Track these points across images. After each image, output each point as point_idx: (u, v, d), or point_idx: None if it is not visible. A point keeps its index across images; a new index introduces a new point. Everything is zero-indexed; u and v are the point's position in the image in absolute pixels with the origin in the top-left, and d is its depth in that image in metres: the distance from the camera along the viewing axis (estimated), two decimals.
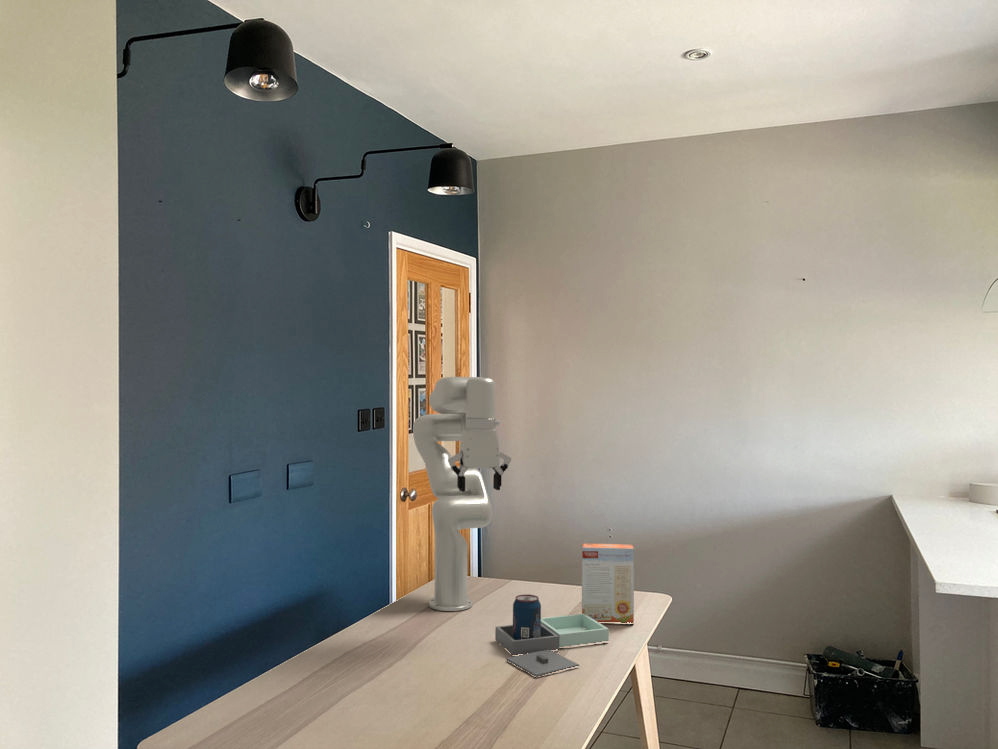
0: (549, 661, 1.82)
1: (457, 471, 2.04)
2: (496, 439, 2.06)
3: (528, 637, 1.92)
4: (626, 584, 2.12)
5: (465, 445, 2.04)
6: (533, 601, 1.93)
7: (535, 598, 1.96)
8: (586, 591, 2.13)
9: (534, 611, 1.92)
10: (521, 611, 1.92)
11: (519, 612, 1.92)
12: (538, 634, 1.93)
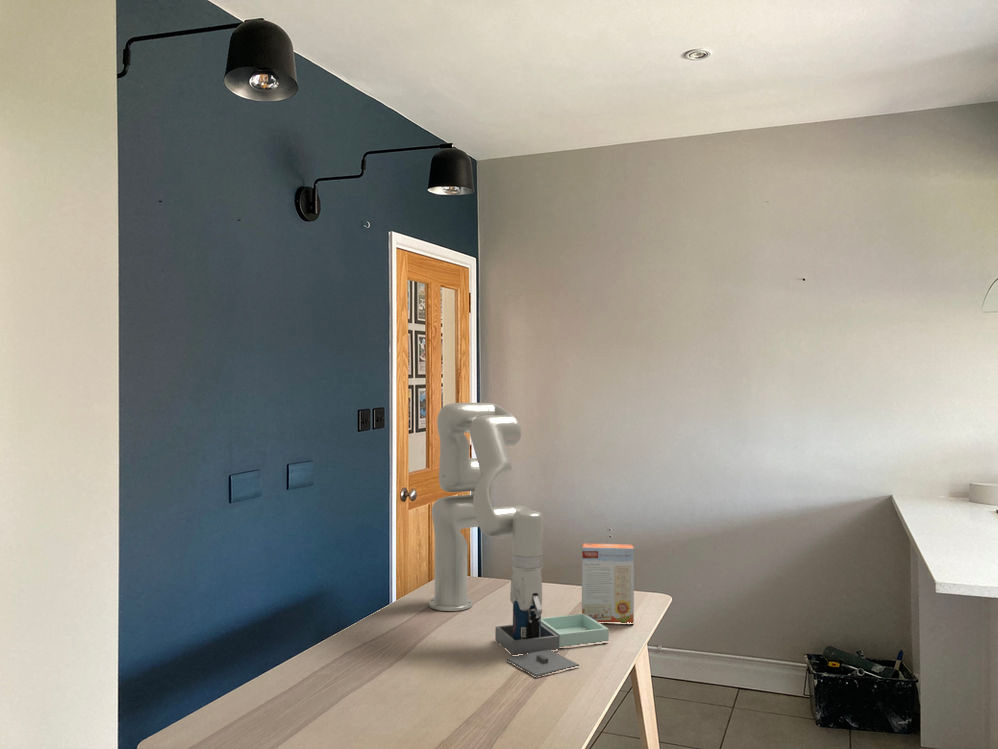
0: (549, 661, 1.82)
1: None
2: None
3: None
4: (626, 584, 2.12)
5: (541, 586, 1.92)
6: None
7: None
8: (586, 591, 2.13)
9: None
10: (521, 611, 1.92)
11: (519, 612, 1.92)
12: None
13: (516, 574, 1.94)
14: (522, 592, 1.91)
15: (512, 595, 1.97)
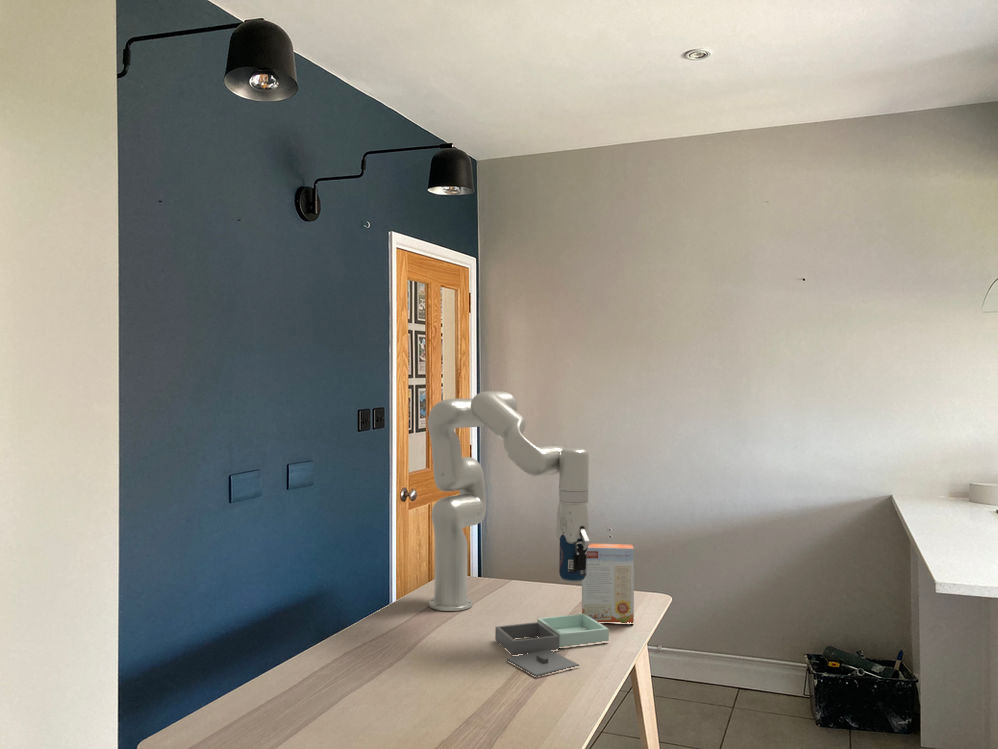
0: (549, 661, 1.82)
1: None
2: None
3: None
4: (626, 584, 2.12)
5: (587, 519, 1.98)
6: None
7: None
8: (586, 591, 2.13)
9: (580, 544, 1.99)
10: (568, 544, 1.99)
11: (566, 545, 1.99)
12: None
13: (563, 509, 2.01)
14: (569, 525, 1.98)
15: (558, 530, 2.04)
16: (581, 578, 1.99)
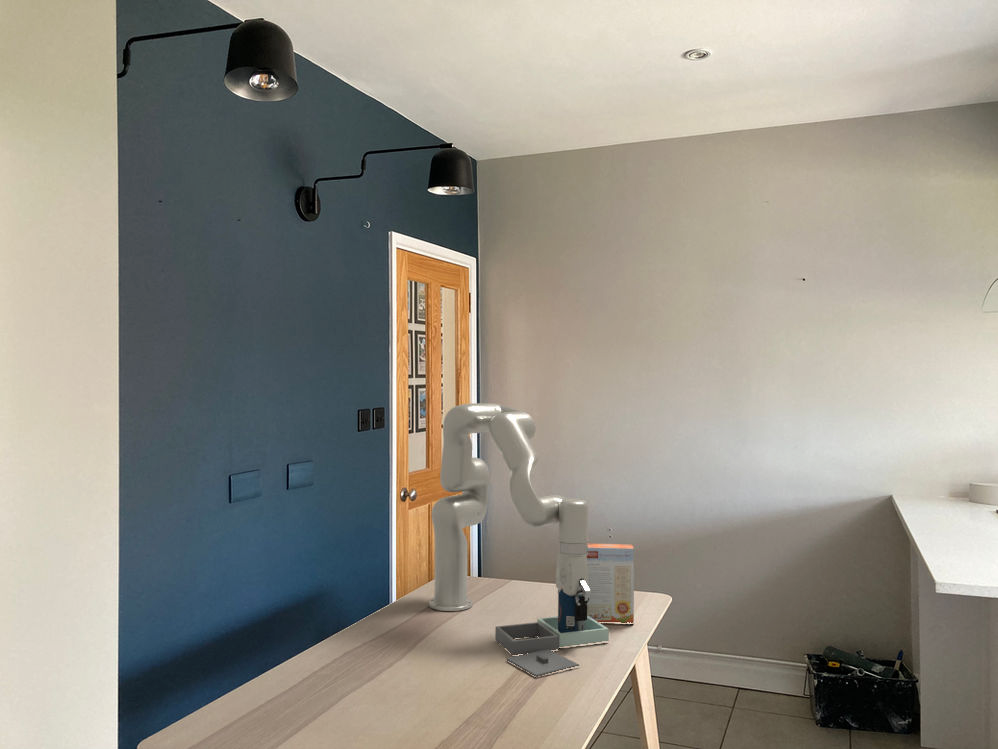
0: (549, 661, 1.82)
1: None
2: None
3: (573, 626, 1.99)
4: (626, 584, 2.12)
5: (587, 571, 1.98)
6: None
7: None
8: None
9: None
10: (567, 601, 1.99)
11: (565, 601, 1.99)
12: (583, 623, 2.00)
13: (563, 560, 2.01)
14: (569, 577, 1.98)
15: (558, 581, 2.04)
16: None
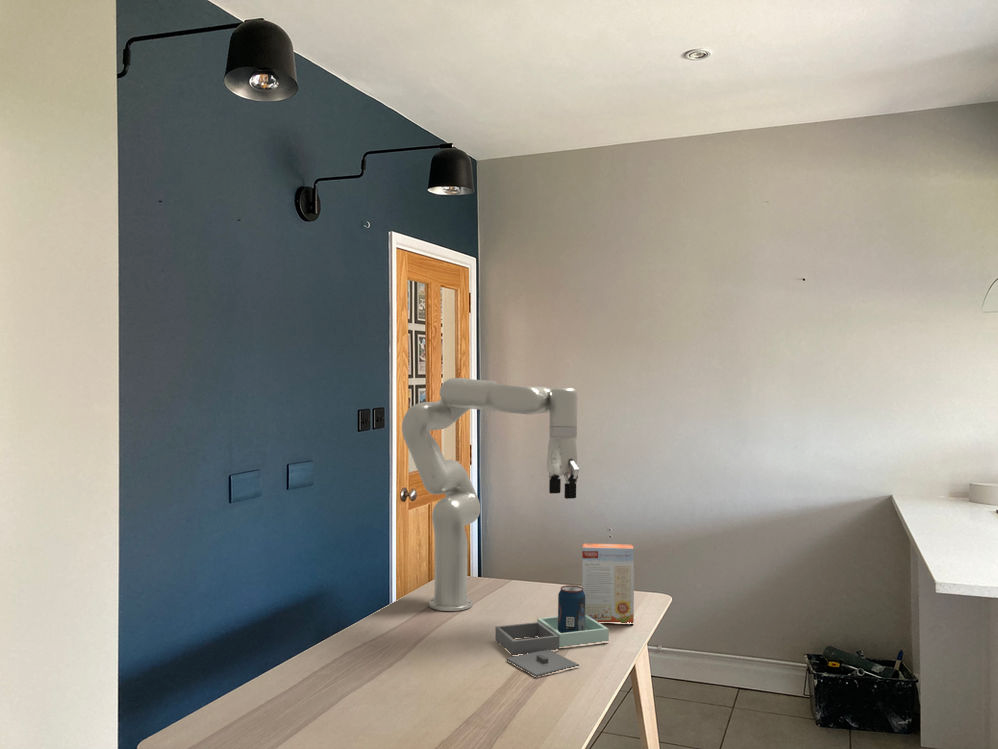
0: (549, 661, 1.82)
1: None
2: None
3: (573, 626, 1.99)
4: (626, 584, 2.12)
5: (576, 453, 2.12)
6: (578, 591, 2.00)
7: (579, 589, 2.03)
8: (586, 591, 2.13)
9: (579, 601, 1.99)
10: (567, 601, 1.99)
11: (565, 602, 1.99)
12: (583, 623, 2.00)
13: (553, 444, 2.14)
14: (559, 458, 2.11)
15: (549, 464, 2.17)
16: None
